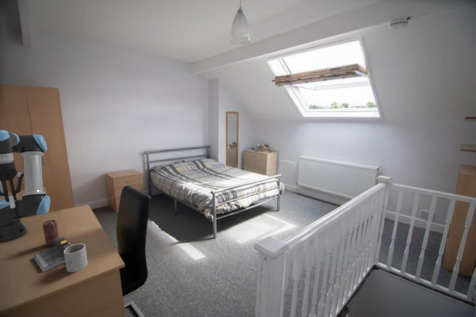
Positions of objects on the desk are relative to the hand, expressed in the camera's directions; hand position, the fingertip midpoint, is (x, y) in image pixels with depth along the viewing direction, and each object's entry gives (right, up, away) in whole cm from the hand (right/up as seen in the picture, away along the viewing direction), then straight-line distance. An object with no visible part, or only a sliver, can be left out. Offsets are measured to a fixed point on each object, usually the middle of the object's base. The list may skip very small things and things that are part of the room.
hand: (12, 207), depth 111 cm
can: (+6, -26, +17) cm, 32 cm away
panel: (+18, -28, +6) cm, 34 cm away
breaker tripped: (+20, -26, +9) cm, 34 cm away
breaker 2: (+24, -26, +5) cm, 36 cm away
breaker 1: (+16, -25, +12) cm, 32 cm away
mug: (+32, -30, 0) cm, 44 cm away
